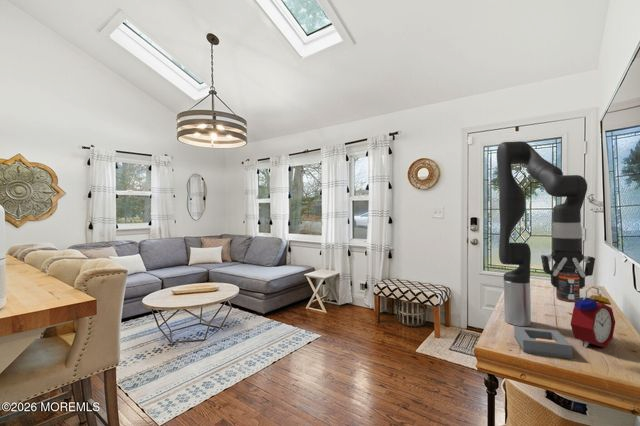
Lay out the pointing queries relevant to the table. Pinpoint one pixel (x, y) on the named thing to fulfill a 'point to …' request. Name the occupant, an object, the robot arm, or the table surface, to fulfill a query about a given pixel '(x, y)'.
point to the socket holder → (542, 342)
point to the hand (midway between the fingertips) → (567, 287)
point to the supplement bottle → (568, 285)
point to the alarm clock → (593, 320)
